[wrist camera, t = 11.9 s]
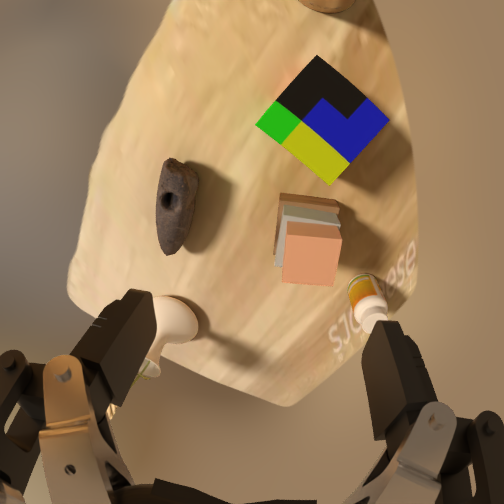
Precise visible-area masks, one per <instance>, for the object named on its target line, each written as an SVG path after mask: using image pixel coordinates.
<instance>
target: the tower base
mask: <svg viewBox="0 0 504 504" xmlns="http://www.w3.org/2000/svg"><path fill="white" fill-rule="evenodd" d="M284 205H290V206H296V207H302V208H308V209H314V210H319V211H325V212H330V213H336V215H337V217H338V214H339V209H340V208H339V206H338V204H337V202H336V200H334V199H327V198H319V197H312V196H304V195H296V194H287V193H280V198H279V207H278V217H277V226H276V235H275V243H274V253H273V255H276V248H277V242H278V236H279V230H280V224H281V219H282V213H283V207H284Z"/></svg>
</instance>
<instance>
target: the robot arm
mask: <svg viewBox="0 0 504 504" xmlns="http://www.w3.org/2000/svg"><path fill="white" fill-rule="evenodd" d="M298 1H300V2H301V3H302V4H303V5H305V6H307V7H308V8H311V9H313V10H316V11H320V12H325V13H337V12H341V11H344V10H346V9H348V8H349V7H350V6H352V5H353V3H354V2H355V0H298ZM156 333H157V321H156V316H155V310H154V303H153V297H152V294H151V293H150V292H148V291H142V290H137V289H129V290H128V291H127V293H126V294H125V295H124V297H123V298H122V299H121V300H115V301H114V302H112V303H110V304H109V305H107V306H106V307H105V308H104V309H103V311H102V312H101V313H100V314H99V316H98V318H96V320H95V321H94V322H93V324H92V326H90V327H89V329H88V330H87V332H86V333H85V334H84V336H83V337H82V338H81V340H80V341H79V342H78V344H77V345H76V346H75V348H74V349H73V351H72V352H71V353H70V354H69V355H60V356H57V357H54V358H53V359H51V360H50V361H49V362H48V363H47V364H37V363H28V361H27V359H26V358H25V356H24V354H23V353H22V352H20V351H18V350H10V351H6V352H5V353H3V354H2V355H1V356H0V504H26V503H25V500H24V498H23V494H24V492H25V489H26V486H27V483H28V481H29V478H30V476H31V473H32V471H33V468H34V465H35V463H36V461H37V459H38V456H39V454H40V452H41V455H42V461H43V467H44V471H45V476H46V481H47V485H48V489H49V493H50V497H51V501H52V504H231V503H228V502H225V501H223V500H220V499H218V498H215V497H213V496H210V495H208V494H206V493H203V492H201V491H199V490H197V489H194V488H191V487H187V486H182V485H179V484H174V483H170V482H167V481H163V480H160V479H157V478H155V481H154V484H139V485H135V483H134V481H133V478H132V476H131V474H130V472H129V470H128V468H127V466H126V464H125V463H124V461H123V459H122V457H121V454H120V451H119V448H118V445H117V443H116V439H115V436H114V433H113V429H112V426H111V423H110V419H109V416H108V413H107V409H108V407H109V405H110V404H113V405H116V406H119V407H121V406H122V404H123V402H124V400H125V398H126V396H127V393H128V391H129V389H130V387H131V385H132V383H133V381H134V379H135V377H136V375H137V373H138V371H139V369H140V367H141V365H142V363H143V361H144V359H145V357H146V355H147V353H148V351H149V349H150V347H151V346H152V344H153V342H154V340H155V337H156ZM421 357H422V356H421V354H420V351H419V349H418V346H417V345H416V343H415V342H414V341H413V340H412V339H411V338H410V337H409V336H408V335H404V334H403V331H402V329H401V326H400V324H399V322H398V321H388V320H378V321H376V323H375V325H374V327H373V330H372V332H371V334H370V336H369V339H368V341H367V343H366V345H365V348H364V350H363V353H362V370H363V375H364V380H365V385H366V391H367V396H368V402H369V407H370V414H371V420H372V426H373V432H374V440H375V441H377V440H386V443H387V446H386V447H385V448H384V449H383V451H382V453H381V454H380V456H379V457H378V459H377V460H376V462H375V463H374V465H373V467H372V468H371V469H370V471H369V472H368V474H367V475H366V477H365V478H364V480H363V481H362V482H361V484H360V485H359V486H358V488H357V489H356V490H355V491H354V492H353V493H352V494H351V495H350V496H349V497H348V498H347V499H346V500H345V501H344V502H343V503H342V504H434V502H435V504H504V424H503V422H502V420H501V418H500V417H499V416H498V415H497V414H496V413H494V412H492V411H484V412H482V413H480V414H479V415H478V416H477V417H476V418H475V419H474V420H472V419H466V418H459V417H456V416H455V414H454V412H453V410H452V409H451V408H450V407H449V406H448V405H446V404H444V403H442V402H438V400H437V397H436V394H435V391H434V388H433V385H432V383H431V380H430V377H429V374H428V372H427V369H426V368H425V364H424V361H423V359H421ZM16 403H18V404H19V405H20V406H21V407H20V409H19V411H18V413H17V414H16V416H15V418H14V420H13V422H12V424H11V425H10V427H9V429H8V432H7V433H6V434H5V432H4V426H5V423H6V421H7V419H8V417H9V415H10V414H11V412H12V410H13V408H14V406H15V405H16ZM471 464H473V469H474V475H475V481H476V493H475V496H474V497H472V490H471V483H470V476H469V470H468V466H469V465H471ZM246 504H317V500H271V501H264V502H255V503H246Z"/></svg>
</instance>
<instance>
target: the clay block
mask: <svg viewBox="0 0 504 504" xmlns="http://www.w3.org/2000/svg"><path fill="white" fill-rule="evenodd" d="M341 245H342V237H341V235H340V232H339V230H338V228H337V226H335V225H325V224H315V223H305V222H294V221H287V227H286V237H285V247H284V257H283V269H282V282H283V283H295V284H308V285H321V286H333V284H334V279H335V275H336V270H337V265H338V260H339V255H340V250H341Z"/></svg>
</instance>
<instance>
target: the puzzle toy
mask: <svg viewBox="0 0 504 504" xmlns="http://www.w3.org/2000/svg"><path fill="white" fill-rule="evenodd" d="M388 122H389V119H388V118H387V117H386V116H385V115H384V114H383V113H382V112H381V111H380V110H379V109H378V108H377V107H376V106H375V105H374V104H373V103H372V102H371V101H370V100H369V99H368V98H367V97H366V96H365V95H364V94H363V93H362V92H361V91H360V90H358V89H357V88H356V87H355V86H354V85H353V84H352V83H351V82H349V81H348V80H347V79H346V78H345V77H344V76H342V75H341V74H340V73H339V72H338V71H337V70H335V69H334V68H333V67H332V66H330V65H329V64H328V63H327V62H325V61H324V60H323V59H322V58H320V57H319V56H318V55H316V56H315V57H314V58H313V59H312V60H311V61H310V63H309V64H308V65H307V66H306V67H305V68H304V69H303V70H302V71H301V72H300V73H299V74H298V76H297V77H296V78H295V79H294V80H293V81H292V82H291V83H290V84H289V86H288V87H287V88H286V89H285V90H284V91H283V92H282V94H281V95H280V96H279V97H278V98H277V99H276V100H275V102H274V103H273V104H272V105H271V106H270V107H269V109H268V110H267V111H266V112H265V113H264V115H263V116H262V117H261V118H260V119H259V121H258V122H257V123H256V124H255V125H256V126H257V127H259V128H260V129H261V130H262V131H264V132H265V133H266V134H268V135H269V136H270V137H271V138H273V139H274V140H275V141H277V142H278V143H279V144H280V145H282V146H283V147H284V148H285V149H287V150H288V151H289V152H290V153H291V154H293V155H294V156H295V157H296V158H298V159H299V160H300V161H301V162H302V163H303V164H305V165H306V166H307V167H308V168H309V169H311V170H312V171H313V172H314V173H315V174H316V175H317V176H319V177H320V178H321V179H322V180H323V181H324V182H325V183H327V184H328V185H329V186H330V185H331V184H332V183H333V182H334V181H335V179H336V178H337V177H338V176H339V175H340V174H341V173H342V172H343V171H344V170H345V169H346V168H347V166H348V165H349V164H350V163H351V162H352V161H353V160H354V159H355V158H356V157H357V156H358V154H359V153H360V152H361V151H362V150H363V149H364V148H365V147H366V146H367V145H368V144H369V142H370V141H371V140H372V139H373V138H374V137H375V136H376V135H377V134H378V133H379V131H380V130H381V129H382V128H383V127H384V126H385V125H386V124H387V123H388Z"/></svg>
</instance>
